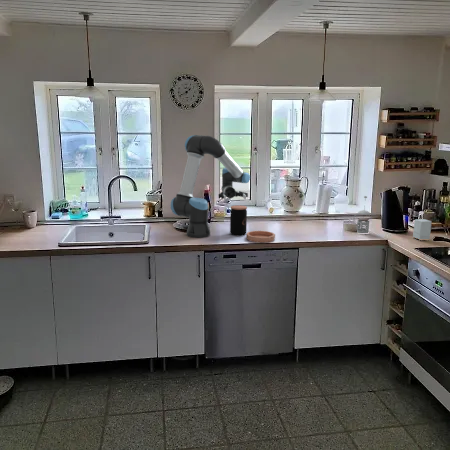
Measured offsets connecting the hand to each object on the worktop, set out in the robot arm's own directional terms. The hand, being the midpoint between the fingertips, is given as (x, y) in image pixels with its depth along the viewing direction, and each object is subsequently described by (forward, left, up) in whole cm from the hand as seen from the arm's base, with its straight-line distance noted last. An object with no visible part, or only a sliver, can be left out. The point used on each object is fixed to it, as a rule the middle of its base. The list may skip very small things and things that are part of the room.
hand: (235, 197), depth 287 cm
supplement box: (+112, -42, -23) cm, 122 cm away
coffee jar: (0, -10, -23) cm, 24 cm away
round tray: (+11, -24, -22) cm, 34 cm away
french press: (+83, -19, -23) cm, 88 cm away
